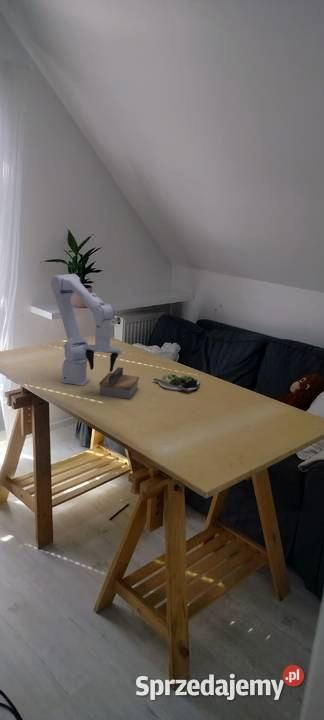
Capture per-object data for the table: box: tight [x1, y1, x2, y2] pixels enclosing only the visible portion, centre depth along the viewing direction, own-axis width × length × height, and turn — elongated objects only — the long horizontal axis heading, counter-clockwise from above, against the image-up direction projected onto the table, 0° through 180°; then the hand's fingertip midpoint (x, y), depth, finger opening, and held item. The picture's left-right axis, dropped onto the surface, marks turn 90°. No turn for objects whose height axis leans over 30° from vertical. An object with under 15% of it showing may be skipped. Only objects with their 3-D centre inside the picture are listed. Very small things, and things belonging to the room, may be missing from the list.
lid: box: [98, 366, 140, 390], centre depth 202 cm, size 13×13×4 cm
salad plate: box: [152, 374, 201, 393], centre depth 215 cm, size 19×18×5 cm
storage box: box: [99, 380, 139, 400], centre depth 203 cm, size 12×12×4 cm
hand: (101, 370), depth 198 cm, fingers open, 7 cm apart
